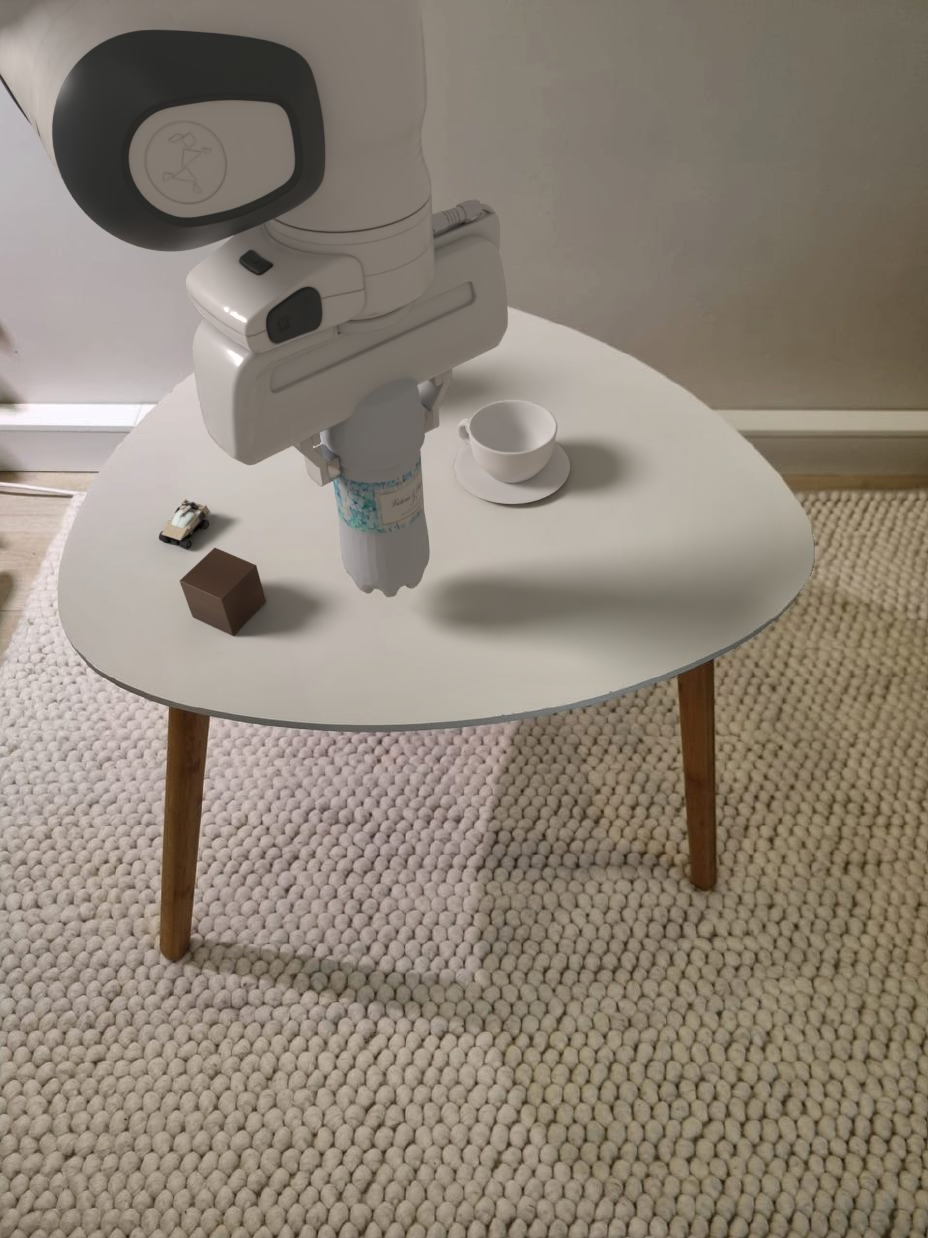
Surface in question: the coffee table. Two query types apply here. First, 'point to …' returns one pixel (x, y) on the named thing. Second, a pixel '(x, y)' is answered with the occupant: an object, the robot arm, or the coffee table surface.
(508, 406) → the teacup
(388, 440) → the bottle
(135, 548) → the coffee table surface
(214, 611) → the walnut block
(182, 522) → the toy car
